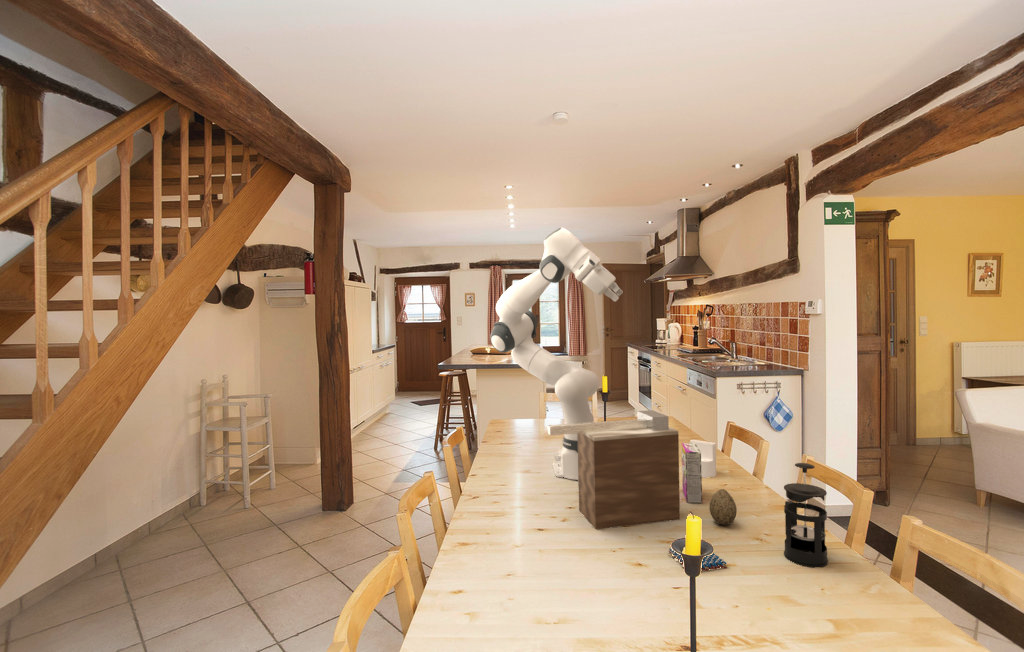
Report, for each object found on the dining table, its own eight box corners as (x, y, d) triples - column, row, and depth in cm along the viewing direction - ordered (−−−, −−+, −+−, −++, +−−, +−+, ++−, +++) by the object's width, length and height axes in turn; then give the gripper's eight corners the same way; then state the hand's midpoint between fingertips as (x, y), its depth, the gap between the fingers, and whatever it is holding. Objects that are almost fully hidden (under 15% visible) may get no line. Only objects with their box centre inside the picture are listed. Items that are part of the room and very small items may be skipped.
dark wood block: (579, 510, 155) (577, 426, 155) (656, 502, 161) (655, 421, 160) (595, 529, 142) (593, 437, 141) (679, 519, 147) (678, 430, 146)
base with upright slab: (720, 473, 188) (719, 441, 187) (710, 479, 181) (710, 446, 181) (696, 468, 194) (695, 437, 193) (686, 474, 187) (685, 442, 187)
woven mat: (703, 550, 129) (703, 542, 129) (729, 570, 118) (729, 562, 118) (665, 555, 127) (665, 547, 127) (689, 576, 116) (689, 568, 116)
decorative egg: (739, 530, 139) (739, 494, 139) (712, 528, 140) (712, 493, 140) (733, 519, 146) (732, 485, 146) (707, 518, 147) (706, 484, 147)
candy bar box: (681, 491, 170) (680, 442, 170) (697, 491, 169) (696, 443, 169) (686, 503, 159) (685, 451, 159) (702, 504, 158) (701, 452, 158)
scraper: (544, 430, 150) (544, 417, 150) (652, 422, 158) (652, 410, 158) (554, 438, 141) (553, 424, 141) (668, 429, 148) (668, 416, 148)
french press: (840, 567, 118) (839, 469, 117) (802, 570, 117) (801, 472, 116) (805, 544, 129) (804, 455, 129) (771, 547, 128) (770, 457, 128)
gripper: (587, 270, 171) (616, 298, 170) (574, 278, 152) (607, 310, 151) (599, 256, 169) (630, 284, 168) (588, 263, 150) (622, 295, 149)
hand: (619, 297), depth 159 cm, fingers open, 8 cm apart
